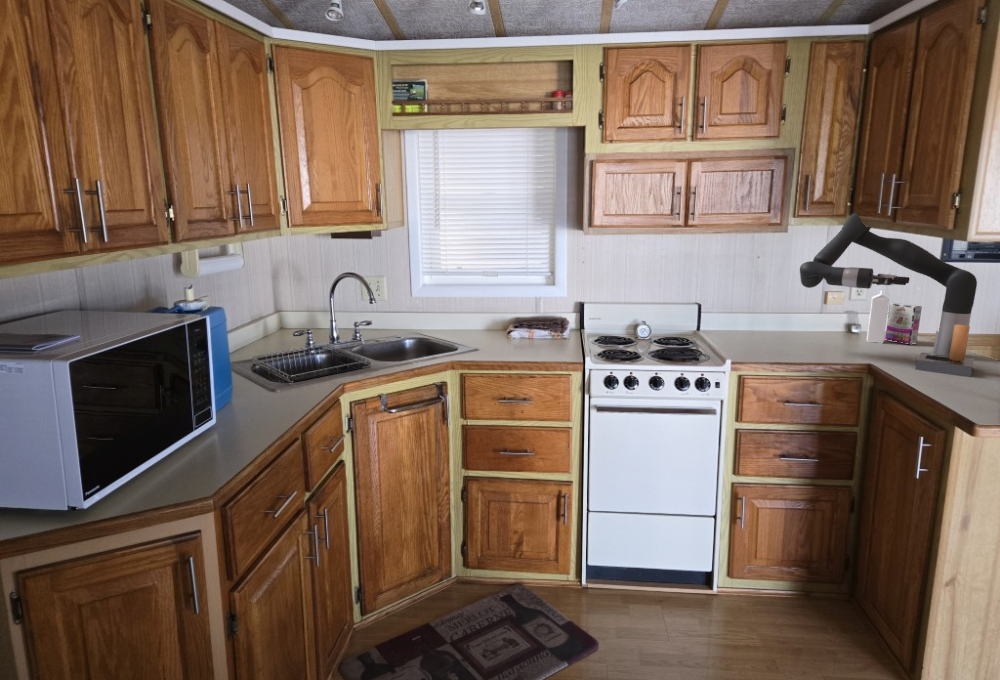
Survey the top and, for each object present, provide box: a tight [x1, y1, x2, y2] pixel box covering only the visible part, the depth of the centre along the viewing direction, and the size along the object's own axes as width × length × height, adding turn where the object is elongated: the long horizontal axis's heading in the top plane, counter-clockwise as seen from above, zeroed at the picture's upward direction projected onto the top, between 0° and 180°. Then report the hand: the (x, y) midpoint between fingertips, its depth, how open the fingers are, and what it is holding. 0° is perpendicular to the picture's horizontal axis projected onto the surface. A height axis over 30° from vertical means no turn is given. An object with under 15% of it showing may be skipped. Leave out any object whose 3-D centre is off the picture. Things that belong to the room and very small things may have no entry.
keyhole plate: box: [914, 352, 975, 378], centre depth 231 cm, size 16×16×4 cm
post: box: [949, 325, 970, 362], centre depth 227 cm, size 5×5×16 cm
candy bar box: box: [884, 302, 923, 344], centre depth 277 cm, size 11×5×16 cm, turn 25°
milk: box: [865, 290, 890, 344], centre depth 277 cm, size 6×6×22 cm
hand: (907, 281), depth 234 cm, fingers open, 8 cm apart
